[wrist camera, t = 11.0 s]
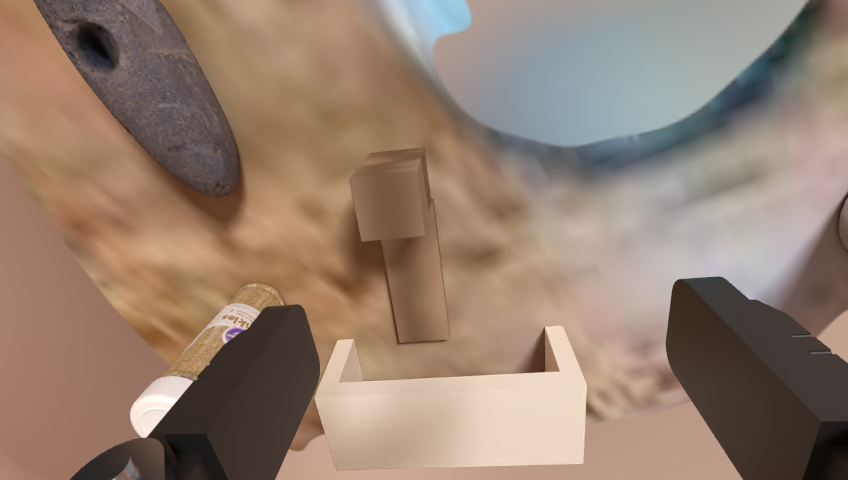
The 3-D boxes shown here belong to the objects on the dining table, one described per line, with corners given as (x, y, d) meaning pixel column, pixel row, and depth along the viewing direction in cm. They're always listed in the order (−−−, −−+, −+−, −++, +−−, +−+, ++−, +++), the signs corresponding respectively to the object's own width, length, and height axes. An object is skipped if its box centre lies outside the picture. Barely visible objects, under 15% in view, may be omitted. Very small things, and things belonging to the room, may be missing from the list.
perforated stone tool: (274, 172, 31) (229, 201, 25) (217, 194, 33) (160, 228, 26) (156, -46, 26) (61, -78, 20) (93, -10, 27) (-17, -29, 21)
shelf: (562, 325, 35) (586, 385, 29) (561, 396, 39) (583, 463, 32) (337, 339, 38) (314, 398, 31) (354, 405, 41) (336, 470, 34)
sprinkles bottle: (294, 295, 36) (213, 420, 24) (276, 331, 38) (191, 465, 25) (246, 271, 35) (135, 386, 23) (229, 309, 37) (118, 435, 25)
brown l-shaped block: (427, 146, 30) (420, 171, 23) (449, 332, 36) (449, 391, 30) (368, 153, 30) (345, 179, 24) (401, 335, 37) (390, 394, 31)
